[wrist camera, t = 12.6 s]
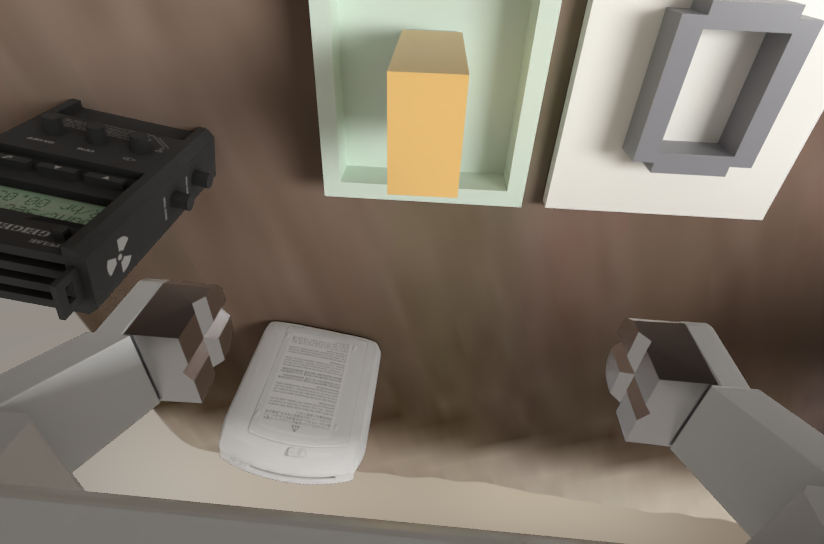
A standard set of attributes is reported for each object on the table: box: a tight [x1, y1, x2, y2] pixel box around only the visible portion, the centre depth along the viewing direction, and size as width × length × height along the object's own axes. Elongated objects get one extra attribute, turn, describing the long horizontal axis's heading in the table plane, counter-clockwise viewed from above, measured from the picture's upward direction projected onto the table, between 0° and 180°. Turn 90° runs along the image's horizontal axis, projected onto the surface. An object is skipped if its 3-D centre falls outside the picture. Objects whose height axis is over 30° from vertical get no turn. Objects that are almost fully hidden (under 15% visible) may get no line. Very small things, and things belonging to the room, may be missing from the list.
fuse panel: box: [543, 0, 824, 220], centre depth 26 cm, size 14×16×3 cm
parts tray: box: [309, 0, 562, 207], centre depth 26 cm, size 12×14×3 cm
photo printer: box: [219, 321, 381, 485], centre depth 36 cm, size 10×4×12 cm, turn 78°
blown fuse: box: [387, 29, 469, 198], centre depth 23 cm, size 3×5×10 cm, turn 178°
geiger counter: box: [0, 99, 216, 320], centre depth 25 cm, size 10×5×15 cm, turn 78°
